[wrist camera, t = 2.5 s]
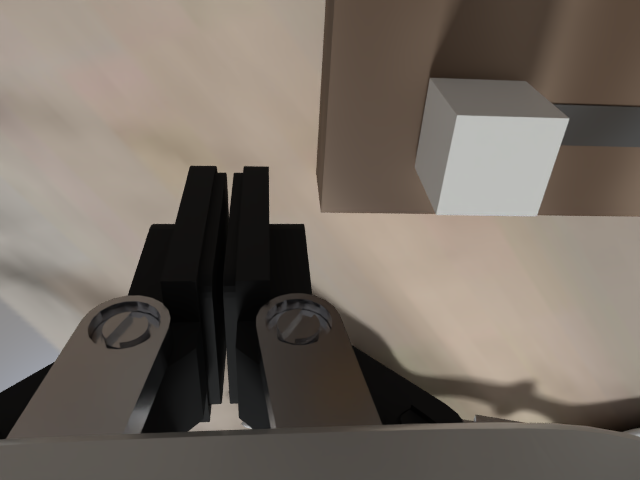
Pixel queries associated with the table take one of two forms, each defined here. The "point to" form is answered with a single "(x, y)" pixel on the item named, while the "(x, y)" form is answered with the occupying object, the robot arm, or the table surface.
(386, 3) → the switch board
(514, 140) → the switch
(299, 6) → the table surface
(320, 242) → the table surface
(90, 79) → the table surface
